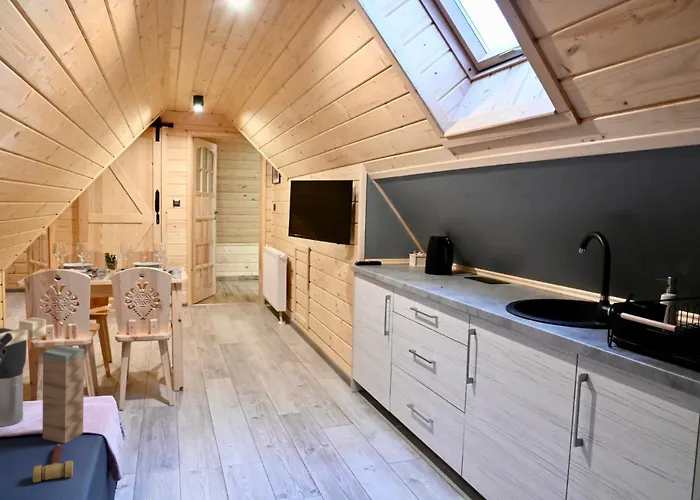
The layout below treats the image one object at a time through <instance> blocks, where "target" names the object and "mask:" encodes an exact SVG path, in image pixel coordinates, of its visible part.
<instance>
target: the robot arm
mask: <svg viewBox="0 0 700 500" xmlns="http://www.w3.org/2000/svg"><path fill="white" fill-rule="evenodd" d="M12 330H13V329H10V328H6V327H0V334H1V333H5V332H8V331H12ZM12 338H13V337H12V335H11V334H10V333H6V334H5V335H4V336H3V337H2V338H1V339H0V427H7V426H12V425H15V424H17V423H18V424H19V422H21V421H22V420H23V418H24V367H25V365H26V362H27V361H26V360H27V343H28V342H27V341H28V340H24V341H21V342H17V343H14V344H11V345H8V346H6V345H7V344H8V343H9V342H10V341H11V340H12Z"/></svg>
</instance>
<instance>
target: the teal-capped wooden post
mask: <svg viewBox="0 0 700 500" xmlns="http://www.w3.org/2000/svg"><path fill="white" fill-rule="evenodd" d="M84 375H85V349H84V348H78V347H75V346H74V347H73V346H68V345H59V346H57V347H53V348H51V349H47V350H45V351H43V352H42V440H43V439H44V440H48V441H52V442H55V443H61V444H66V443H68V442H70V441H72V440H73V439H75V438H77V437H79V436H80V435H82V434H83V433H84V395H85V394H84V391H85V390H84V389H85V387H84V386H85V384H84V383H85V376H84Z"/></svg>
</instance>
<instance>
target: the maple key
mask: <svg viewBox="0 0 700 500" xmlns="http://www.w3.org/2000/svg"><path fill="white" fill-rule="evenodd" d="M6 333H10V334H11V335H12V337H13V338H12V340H11V341H10V342H9V343H8V344H7V345H6V346H8V345H11V344H14V343H17V342H21V341H24V340H26V341H28V340H34V339H38V338H41V337H43V336H44V337H45V336H47V319H46V318H39V317H34V316H33V317H28V318H25V319H21V320H19V322H18V328H15V329H12V331H8V332H5V333H1V334H0V339H1V338H2V337H3V336H4V335H5V334H6Z"/></svg>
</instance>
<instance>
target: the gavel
mask: <svg viewBox="0 0 700 500" xmlns="http://www.w3.org/2000/svg"><path fill="white" fill-rule="evenodd" d="M62 452H63V446H61V444H59V443H58V444H57V445H56V446H54V447H53V449H52V454H51V459H50V463H49V464H47V465H44V466H43V465H42V464H39V465H34V466H33V469H32V470H33V471H32V483H33V484H34V483H41V482H42V481H43V480H45V481H46V480H48V479H49V480H54V479H61V478H65V479H67V477H68V478H73V477H74V461H73V460H68V461H67V460H66V461H65V462H64V463H62V462H61V458H62V454H63V453H62Z"/></svg>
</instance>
